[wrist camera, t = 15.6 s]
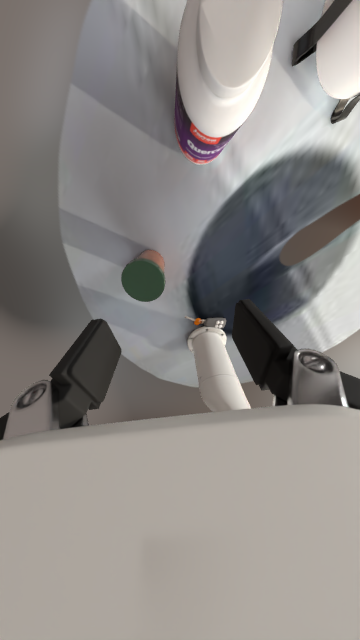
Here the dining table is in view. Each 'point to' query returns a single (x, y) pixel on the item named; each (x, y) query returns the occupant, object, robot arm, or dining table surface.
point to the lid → (143, 279)
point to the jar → (153, 257)
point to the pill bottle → (221, 70)
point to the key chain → (210, 322)
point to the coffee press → (335, 53)
